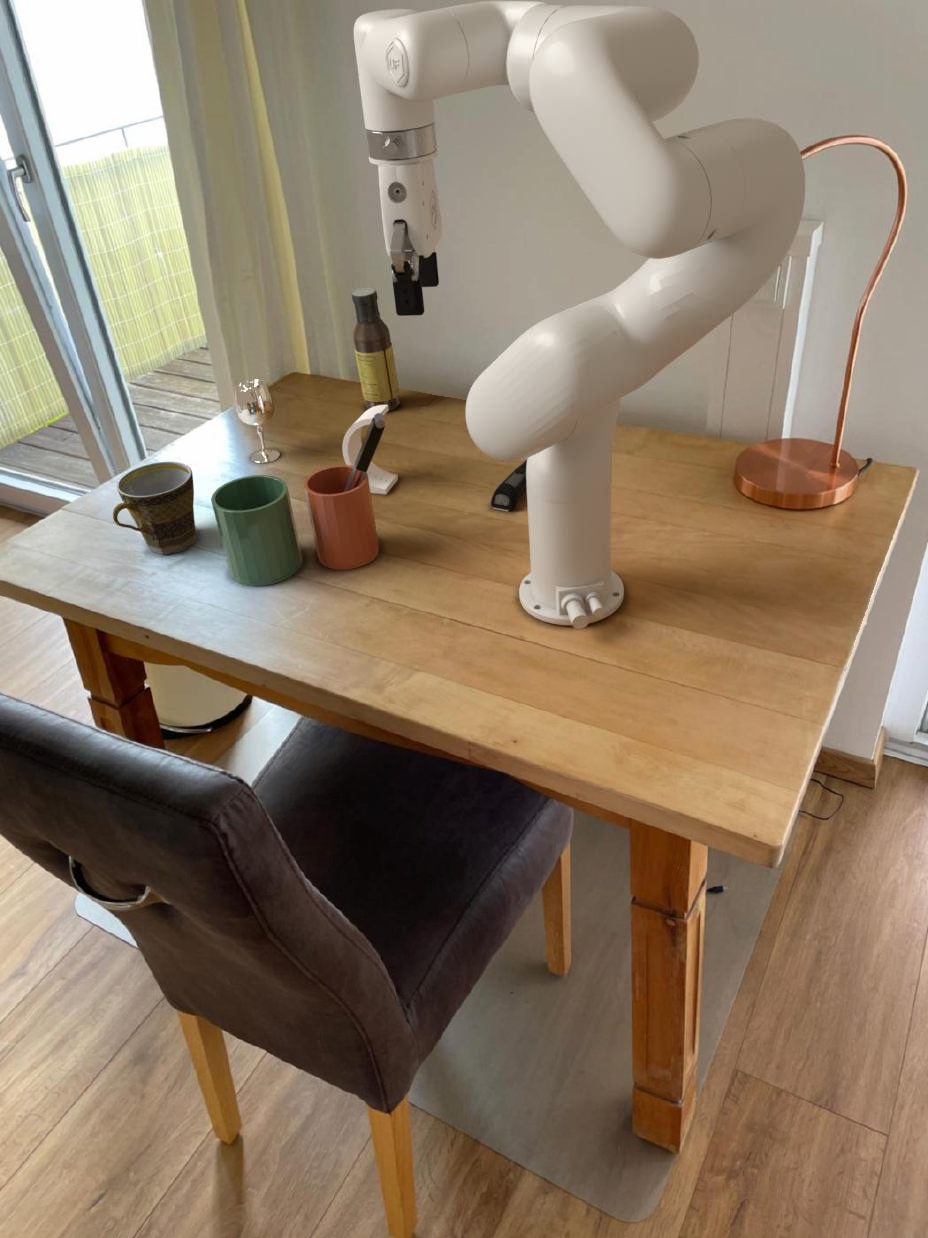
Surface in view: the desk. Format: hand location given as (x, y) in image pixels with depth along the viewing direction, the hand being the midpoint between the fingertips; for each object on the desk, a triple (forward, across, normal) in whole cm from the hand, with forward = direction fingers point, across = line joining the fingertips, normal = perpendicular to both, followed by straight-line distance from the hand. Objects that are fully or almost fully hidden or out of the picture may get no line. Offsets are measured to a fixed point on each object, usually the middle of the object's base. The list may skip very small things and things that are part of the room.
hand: (418, 299), depth 119 cm
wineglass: (+32, +22, +32) cm, 50 cm away
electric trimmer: (+32, +12, -10) cm, 35 cm away
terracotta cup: (+32, -6, +12) cm, 34 cm away
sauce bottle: (+32, +40, +17) cm, 54 cm away
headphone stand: (+32, +12, +13) cm, 36 cm away
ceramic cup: (+32, -6, +38) cm, 50 cm away
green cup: (+32, -10, +22) cm, 40 cm away
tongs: (+31, -6, +10) cm, 33 cm away
